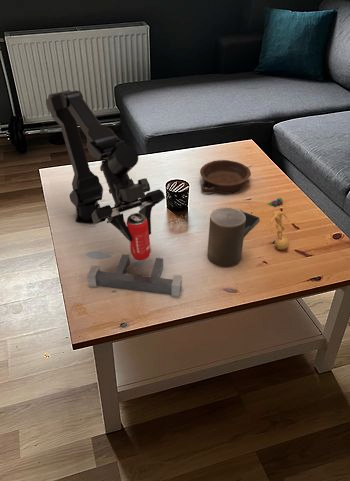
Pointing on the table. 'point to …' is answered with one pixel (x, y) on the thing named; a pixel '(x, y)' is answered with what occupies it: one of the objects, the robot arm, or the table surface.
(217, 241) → the pillar candle
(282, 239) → the figurine
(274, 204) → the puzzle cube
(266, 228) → the table surface
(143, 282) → the rail dock
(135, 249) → the beverage can
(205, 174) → the dish
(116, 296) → the table surface
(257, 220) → the phone
